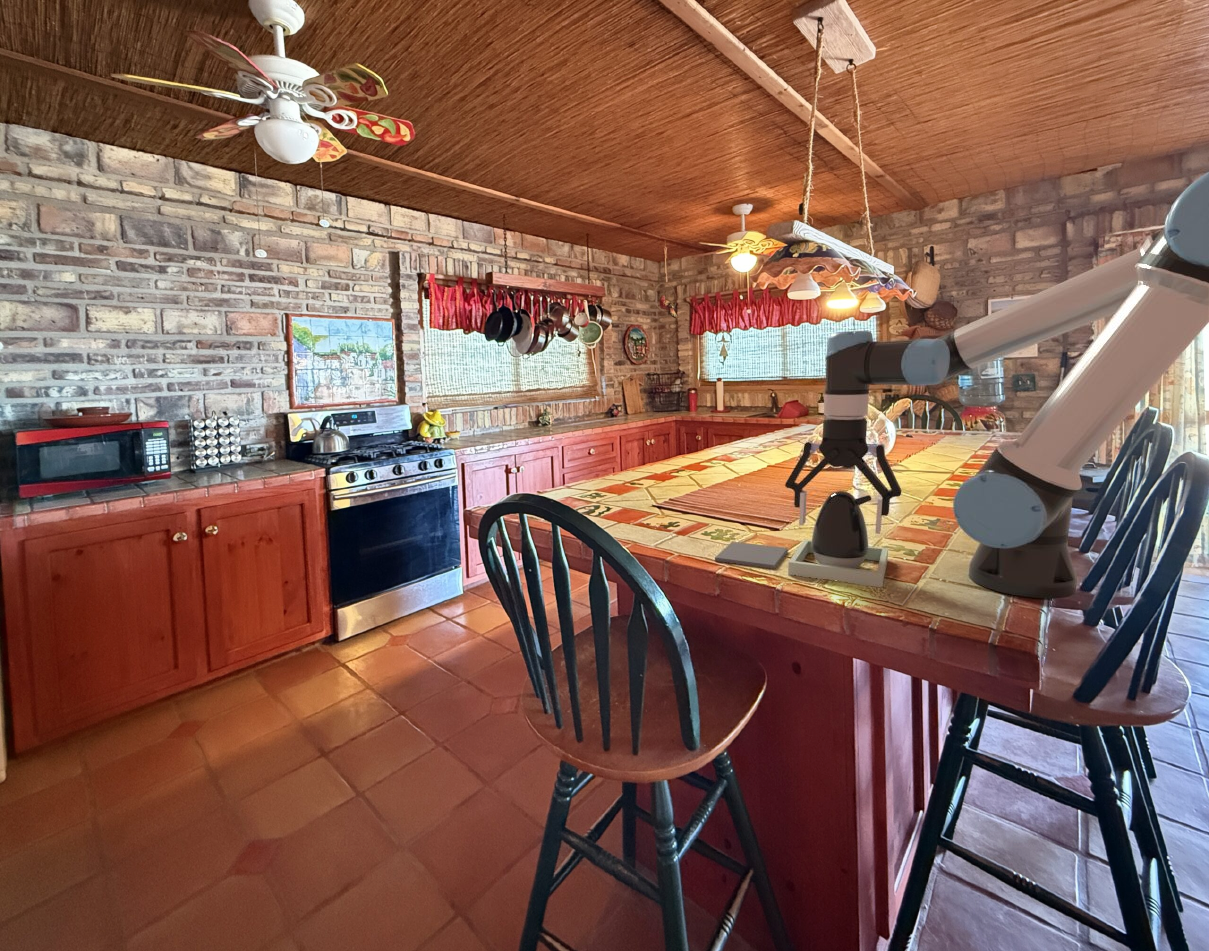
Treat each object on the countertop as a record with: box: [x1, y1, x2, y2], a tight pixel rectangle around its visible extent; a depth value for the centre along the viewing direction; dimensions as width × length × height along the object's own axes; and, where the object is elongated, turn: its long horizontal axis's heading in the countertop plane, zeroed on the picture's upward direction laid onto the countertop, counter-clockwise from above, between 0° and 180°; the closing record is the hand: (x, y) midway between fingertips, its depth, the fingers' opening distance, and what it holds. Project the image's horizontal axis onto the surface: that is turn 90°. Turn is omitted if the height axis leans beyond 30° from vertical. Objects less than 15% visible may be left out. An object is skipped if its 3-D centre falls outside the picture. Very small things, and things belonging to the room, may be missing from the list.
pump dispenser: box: [811, 490, 872, 569], centre depth 108 cm, size 10×10×15 cm
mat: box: [714, 541, 788, 570], centre depth 117 cm, size 12×12×1 cm
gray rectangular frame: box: [787, 539, 889, 589], centre depth 109 cm, size 16×16×2 cm
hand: (838, 527), depth 108 cm, fingers open, 13 cm apart
